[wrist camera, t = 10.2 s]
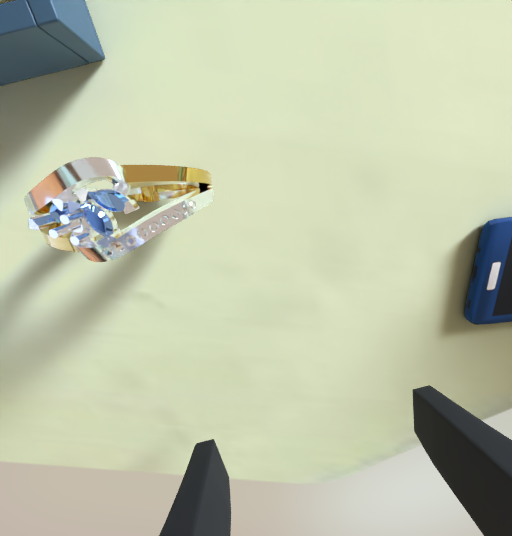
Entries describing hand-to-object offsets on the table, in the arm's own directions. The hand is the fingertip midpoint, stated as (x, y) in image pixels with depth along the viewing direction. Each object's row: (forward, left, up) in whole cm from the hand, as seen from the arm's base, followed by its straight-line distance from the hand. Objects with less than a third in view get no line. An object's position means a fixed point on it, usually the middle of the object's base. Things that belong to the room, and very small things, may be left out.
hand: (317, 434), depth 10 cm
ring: (-5, +9, -10) cm, 14 cm away
